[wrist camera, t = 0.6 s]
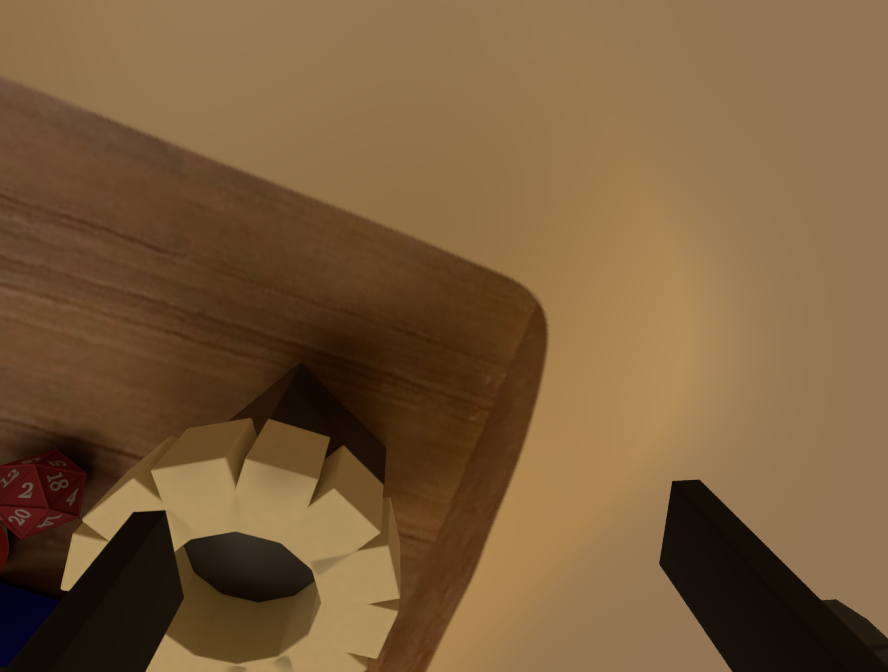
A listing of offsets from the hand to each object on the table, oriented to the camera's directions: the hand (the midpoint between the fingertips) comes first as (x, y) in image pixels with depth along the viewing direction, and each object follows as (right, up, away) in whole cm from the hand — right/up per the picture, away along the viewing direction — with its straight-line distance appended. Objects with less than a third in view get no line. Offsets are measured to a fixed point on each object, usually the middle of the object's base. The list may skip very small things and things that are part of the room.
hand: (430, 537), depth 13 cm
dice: (-20, -2, +14) cm, 25 cm away
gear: (-7, -3, +7) cm, 10 cm away
